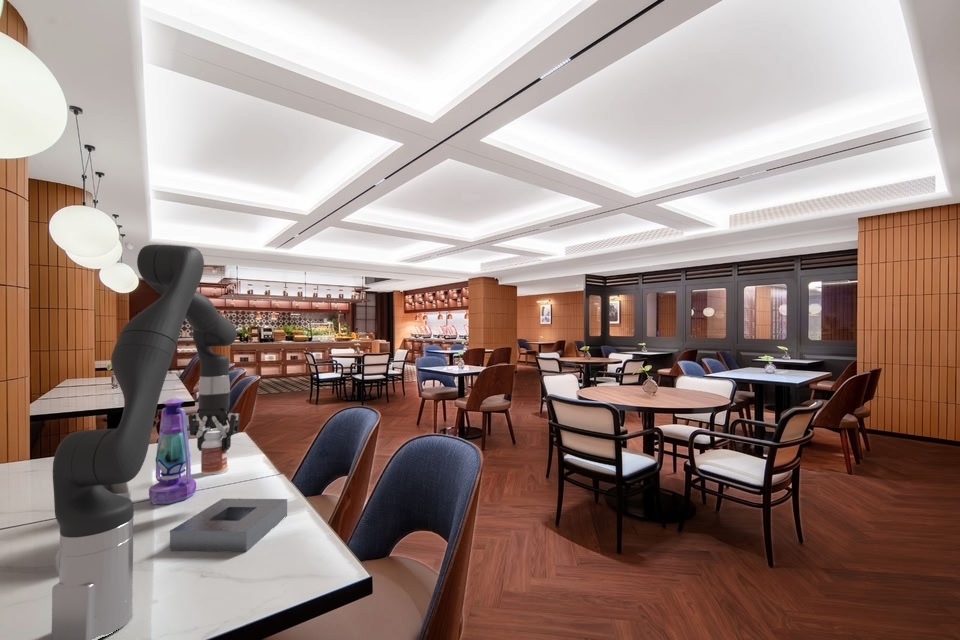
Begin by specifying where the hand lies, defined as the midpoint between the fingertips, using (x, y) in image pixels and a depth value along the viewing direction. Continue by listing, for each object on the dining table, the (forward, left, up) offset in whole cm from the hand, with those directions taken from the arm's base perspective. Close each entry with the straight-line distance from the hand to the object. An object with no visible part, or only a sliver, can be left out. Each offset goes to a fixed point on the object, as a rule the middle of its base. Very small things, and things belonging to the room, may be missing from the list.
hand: (214, 450), depth 118 cm
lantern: (+6, +17, -16) cm, 24 cm away
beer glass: (+29, +19, -16) cm, 38 cm away
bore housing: (-14, -15, -16) cm, 26 cm away
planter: (-23, +11, -17) cm, 30 cm away
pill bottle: (0, 0, -6) cm, 6 cm away
